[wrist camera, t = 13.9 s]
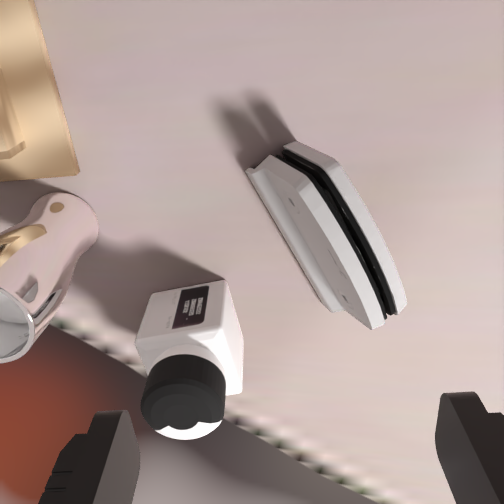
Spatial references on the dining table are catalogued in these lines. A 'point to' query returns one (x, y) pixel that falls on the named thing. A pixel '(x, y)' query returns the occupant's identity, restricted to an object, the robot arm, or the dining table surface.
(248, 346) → the dining table surface
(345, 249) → the card swipe reader
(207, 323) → the container
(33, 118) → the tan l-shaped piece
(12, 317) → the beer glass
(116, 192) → the dining table surface
